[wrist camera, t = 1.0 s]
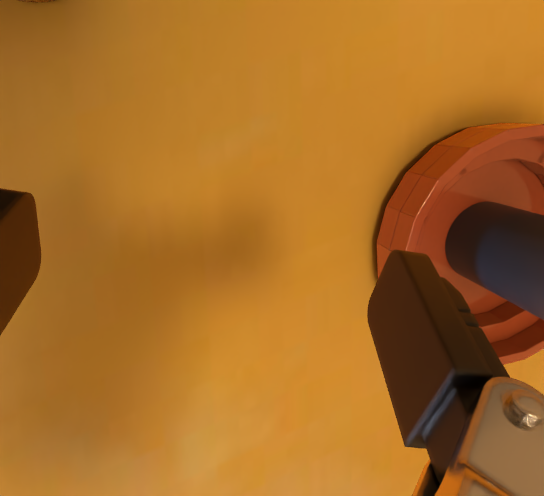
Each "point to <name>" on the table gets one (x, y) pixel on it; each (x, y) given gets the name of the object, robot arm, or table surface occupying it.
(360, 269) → the table surface
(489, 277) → the flask
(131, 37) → the table surface
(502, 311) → the bowl
